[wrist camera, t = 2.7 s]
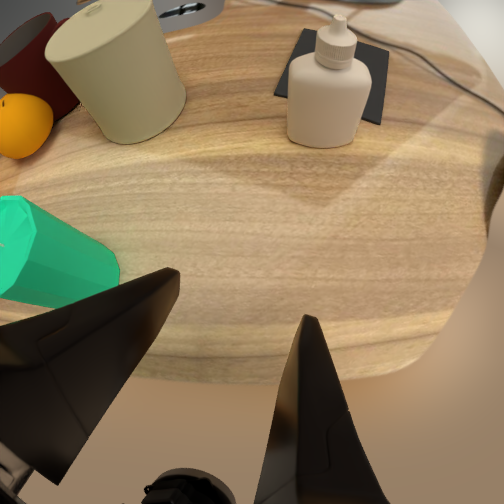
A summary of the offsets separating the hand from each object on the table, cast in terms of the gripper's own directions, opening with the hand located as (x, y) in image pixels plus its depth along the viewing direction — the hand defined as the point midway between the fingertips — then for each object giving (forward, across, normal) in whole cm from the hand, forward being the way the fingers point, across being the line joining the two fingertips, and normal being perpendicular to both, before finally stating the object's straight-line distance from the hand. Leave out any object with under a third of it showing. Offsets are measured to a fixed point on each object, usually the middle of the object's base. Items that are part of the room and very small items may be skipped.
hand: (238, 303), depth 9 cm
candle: (+8, +14, +10) cm, 19 cm away
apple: (+16, +30, +2) cm, 34 cm away
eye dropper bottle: (+20, 0, -2) cm, 20 cm away
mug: (+20, +28, -2) cm, 35 cm away
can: (+20, +17, -2) cm, 26 cm away
